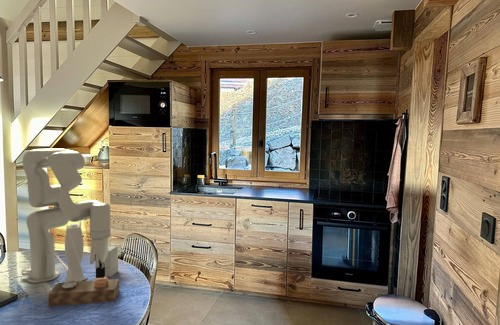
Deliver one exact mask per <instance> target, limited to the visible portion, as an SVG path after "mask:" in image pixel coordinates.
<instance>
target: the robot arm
mask: <svg viewBox="0 0 500 325" xmlns="http://www.w3.org/2000/svg"><path fill="white" fill-rule="evenodd" d="M85 162H86V160H85V158H84V155H83V154H82V153H81V152H80V151H79V152H78V151H76V150H71V149H67V148H66V149H65V148H36V149H31V150H28V151H26V152H25V153H24V155H23V157H22V167H23V171H24V173H25V176H26V180H27V182H26V183H27V193H28V195H27V196H28V202H29V205H30V206H31V207H32V208H38V209H39V208H45V209H41V210H36V211H33V212H31V213H30V214H29V215H28V216H27V217H26V219H25V221H26V226H27V230H28V236H29V251H30V252H29V254H30V256H29V257H30V268H29V269H27V268H25V269H22V270H21V275H22V276H27V278H26V281H27V282H28V283H31V284H39V283H46V282H50V281H52V280H54V279H56V278H58V277H60V276H59V275H60V271H59V270H56V258H55V255H56V252H55V237H54V236H53V234H52V233H51V232H50V230H53V229H58V228H61V227H64V226H67V225H68V224H69V221H70V222H75V223H76V222H80V221H81V222H82V221H85V220H89V239H90V240H91V241H90V251H89V252H90V253H89V254H90V255H89V258H90V259H89V264H91V265H93V264H95V265H94V267H95V279H96V278H104V276H105V259H106V258H107V256H108V246H109V238H110V237H111V206H110V204H109V203H107V202H102V201H99V200H97V199H90V200H82V201H77V202H74V201H73V199H72V197H71V196H70V192H71V191H73V190H74V189H76V188H77V187H78V186H79V185H81V183H82V182H83V177H82V175H81V174H80V172H79V171H78V170H82V169H83V168H84V167H85ZM44 168H50V169H51V171H52V173H53V174H54V176H55V178H56V180H57V182H58V184H50V176H49V174H48V173H47V171H46V170H45V169H44ZM51 206H53V207H51ZM46 207H51V208H46Z"/></svg>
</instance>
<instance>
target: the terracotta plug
mask: <svg viewBox="0 0 500 325" xmlns="http://www.w3.org/2000/svg"><path fill="white" fill-rule="evenodd" d="M108 280H109V278H108V277H104V278H96V277H95V278H94V280H93V281H94V283H95V288H101V287H107V285H108Z"/></svg>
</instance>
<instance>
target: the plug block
mask: <svg viewBox="0 0 500 325" xmlns="http://www.w3.org/2000/svg"><path fill="white" fill-rule="evenodd" d="M63 283H65V282H64V281H62V282H57V284H55V286H53V288H52V289H51V290H50V291H49V292H48V294H47V299H48V300H47V304H48V307H49V308H50V307H59V306H74V305H85V304H86V305H87V304H98V303H100V304H101V303H114V302H115V301H116V298H117V297H118V294H119V292H120V278H111V279H109V278H108V285H107V287H101V288H95V283H94V280H84V281H78V282H77V286H76V287H75V289H72V290H62V289H63V288H62V284H63Z"/></svg>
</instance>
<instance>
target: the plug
mask: <svg viewBox="0 0 500 325" xmlns="http://www.w3.org/2000/svg"><path fill="white" fill-rule="evenodd" d="M62 283H63V282H62ZM76 286H77V282H76V281H69V282H65V283H63V284H62V288H63V289H62V290H72V289H75V287H76Z"/></svg>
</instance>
